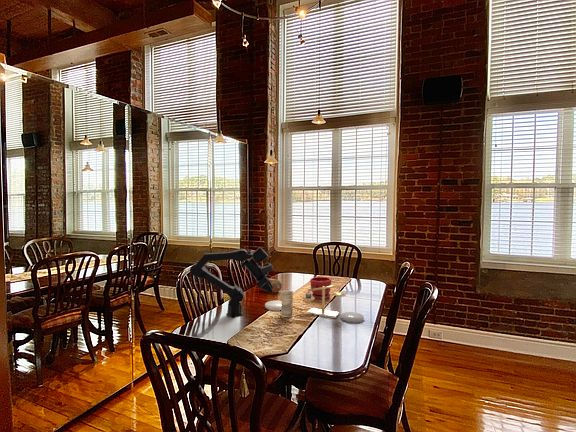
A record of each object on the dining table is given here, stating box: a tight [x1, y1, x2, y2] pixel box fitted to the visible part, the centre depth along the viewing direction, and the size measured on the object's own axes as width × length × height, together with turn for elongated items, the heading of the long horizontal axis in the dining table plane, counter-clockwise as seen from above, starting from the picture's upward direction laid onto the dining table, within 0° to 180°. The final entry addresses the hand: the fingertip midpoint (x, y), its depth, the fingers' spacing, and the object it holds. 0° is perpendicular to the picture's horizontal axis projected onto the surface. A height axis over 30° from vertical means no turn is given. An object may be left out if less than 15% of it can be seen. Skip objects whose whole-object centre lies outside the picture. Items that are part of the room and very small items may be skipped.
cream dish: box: [264, 300, 282, 312], centre depth 202 cm, size 14×14×2 cm
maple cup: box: [280, 289, 294, 318], centre depth 188 cm, size 7×7×13 cm
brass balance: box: [301, 284, 347, 319], centre depth 191 cm, size 24×7×17 cm, turn 66°
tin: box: [262, 278, 282, 293], centre depth 234 cm, size 15×3×8 cm, turn 62°
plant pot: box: [309, 276, 332, 300], centre depth 222 cm, size 13×13×12 cm
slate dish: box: [340, 311, 364, 324], centre depth 185 cm, size 12×12×2 cm
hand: (272, 290), depth 189 cm, fingers open, 9 cm apart
